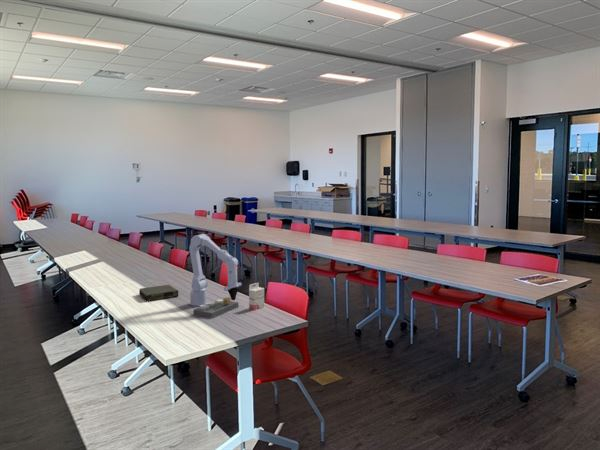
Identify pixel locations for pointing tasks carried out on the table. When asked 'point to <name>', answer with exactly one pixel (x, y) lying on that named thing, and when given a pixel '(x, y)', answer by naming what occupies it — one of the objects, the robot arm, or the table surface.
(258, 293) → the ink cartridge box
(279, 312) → the table surface
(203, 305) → the grey button
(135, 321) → the table surface
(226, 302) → the brass slider
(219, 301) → the ivory button
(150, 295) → the network switch
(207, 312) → the control panel
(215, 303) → the sage button
